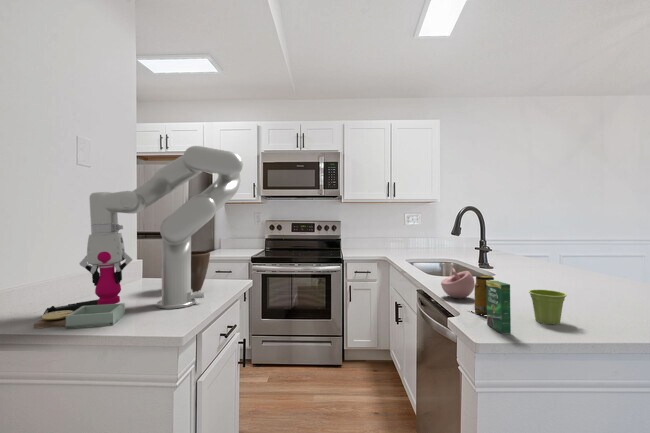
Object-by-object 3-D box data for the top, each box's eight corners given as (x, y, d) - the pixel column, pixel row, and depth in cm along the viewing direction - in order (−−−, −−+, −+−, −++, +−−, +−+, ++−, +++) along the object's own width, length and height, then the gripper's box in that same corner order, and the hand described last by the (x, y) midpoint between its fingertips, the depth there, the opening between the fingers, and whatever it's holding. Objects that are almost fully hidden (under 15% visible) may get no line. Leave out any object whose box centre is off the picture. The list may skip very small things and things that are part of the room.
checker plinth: (79, 317, 103) (79, 313, 103) (67, 325, 96) (67, 321, 96) (48, 319, 101) (48, 315, 101) (34, 328, 93) (34, 323, 93)
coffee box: (485, 324, 97) (485, 279, 97) (495, 324, 97) (495, 278, 97) (500, 334, 89) (500, 284, 89) (511, 333, 89) (511, 284, 89)
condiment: (484, 309, 113) (484, 273, 113) (506, 316, 105) (506, 278, 105) (467, 311, 110) (467, 275, 111) (488, 318, 103) (488, 279, 103)
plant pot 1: (209, 293, 137) (209, 254, 137) (169, 295, 133) (169, 255, 133) (211, 286, 151) (211, 250, 151) (175, 288, 147) (175, 251, 147)
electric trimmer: (103, 308, 116) (103, 299, 116) (45, 318, 103) (46, 308, 103) (98, 306, 118) (99, 297, 118) (42, 316, 106) (42, 306, 106)
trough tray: (124, 314, 107) (124, 303, 107) (113, 325, 96) (113, 312, 96) (82, 317, 104) (82, 305, 104) (65, 329, 93) (65, 316, 93)
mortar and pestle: (438, 294, 136) (438, 265, 136) (469, 295, 134) (469, 266, 134) (444, 301, 124) (444, 270, 124) (478, 302, 122) (478, 271, 122)
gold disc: (77, 315, 103) (77, 309, 103) (66, 322, 96) (66, 316, 96) (49, 317, 101) (49, 311, 101) (36, 324, 94) (36, 318, 94)
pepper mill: (90, 306, 109) (87, 244, 108) (108, 300, 116) (105, 242, 115) (109, 306, 107) (106, 243, 107) (126, 300, 114) (123, 241, 114)
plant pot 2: (523, 320, 100) (523, 291, 100) (536, 315, 106) (536, 287, 106) (559, 329, 93) (559, 297, 93) (571, 322, 98) (571, 293, 98)
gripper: (136, 227, 117) (139, 279, 117) (79, 230, 112) (82, 284, 113) (130, 228, 110) (133, 283, 110) (69, 231, 105) (72, 289, 105)
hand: (107, 283), depth 111 cm, fingers closed on pepper mill, 5 cm apart
